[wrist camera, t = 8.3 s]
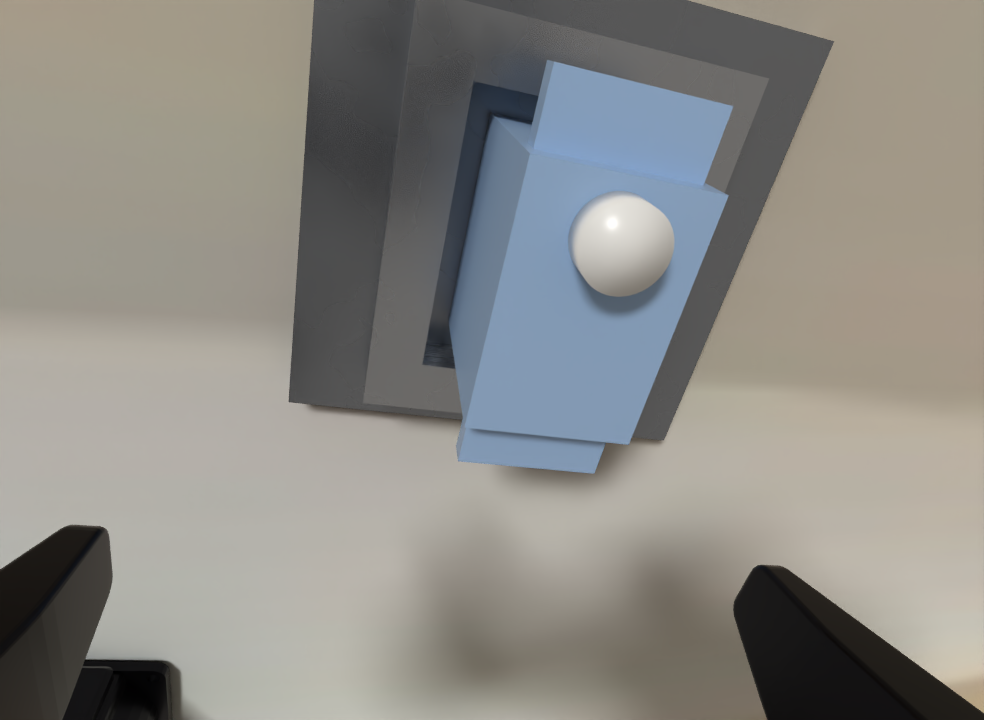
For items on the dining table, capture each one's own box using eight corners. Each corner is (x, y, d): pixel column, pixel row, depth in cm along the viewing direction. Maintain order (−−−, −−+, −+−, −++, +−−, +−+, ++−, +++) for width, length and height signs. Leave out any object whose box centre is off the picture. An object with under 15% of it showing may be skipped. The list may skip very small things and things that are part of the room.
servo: (559, 378, 20) (619, 515, 14) (439, 363, 19) (454, 503, 13) (651, 85, 15) (786, 119, 10) (503, 48, 15) (563, 64, 9)
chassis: (653, 424, 22) (680, 467, 20) (293, 385, 20) (279, 430, 17) (811, 40, 16) (873, 43, 14) (325, -94, 14) (311, -116, 11)
